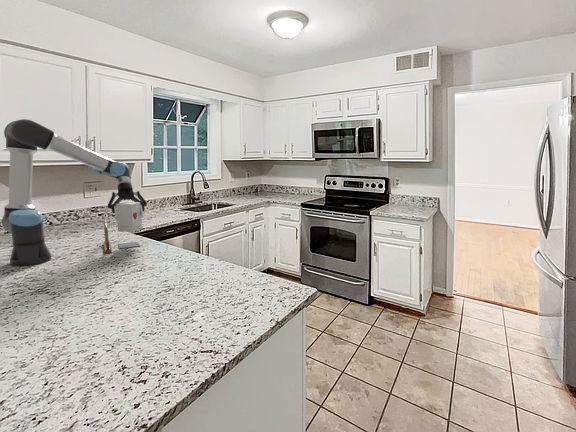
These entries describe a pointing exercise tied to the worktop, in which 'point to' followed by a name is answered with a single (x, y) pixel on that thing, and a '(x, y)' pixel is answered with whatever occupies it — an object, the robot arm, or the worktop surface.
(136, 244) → the mat
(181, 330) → the worktop surface
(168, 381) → the worktop surface
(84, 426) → the worktop surface
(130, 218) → the supplement box
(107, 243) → the cabinet door handle
